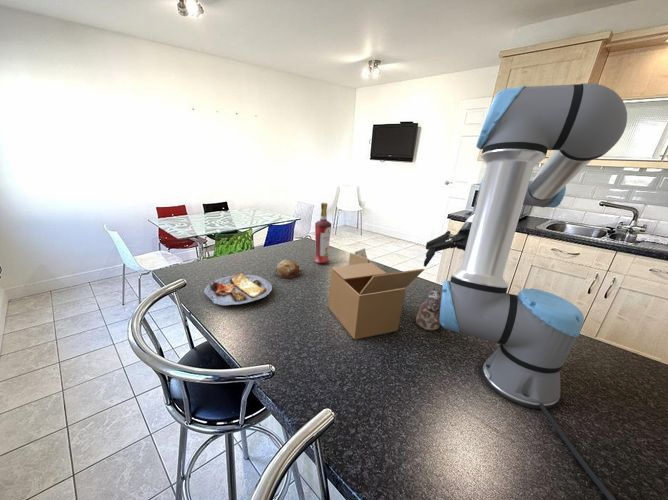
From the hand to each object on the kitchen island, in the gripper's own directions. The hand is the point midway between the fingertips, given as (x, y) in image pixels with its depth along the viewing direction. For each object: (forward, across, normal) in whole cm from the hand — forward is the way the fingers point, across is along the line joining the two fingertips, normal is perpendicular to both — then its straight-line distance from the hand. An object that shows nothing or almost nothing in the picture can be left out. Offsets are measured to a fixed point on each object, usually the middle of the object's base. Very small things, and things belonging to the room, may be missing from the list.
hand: (446, 271), depth 92 cm
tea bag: (-4, +37, -25) cm, 45 cm away
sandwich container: (+6, +26, -19) cm, 33 cm away
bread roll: (+19, +57, -16) cm, 63 cm away
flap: (+21, +7, +13) cm, 26 cm away
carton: (+25, +16, -8) cm, 30 cm away
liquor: (0, +55, -25) cm, 60 cm away
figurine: (+13, -2, -11) cm, 18 cm away
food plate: (+41, +59, -5) cm, 72 cm away
